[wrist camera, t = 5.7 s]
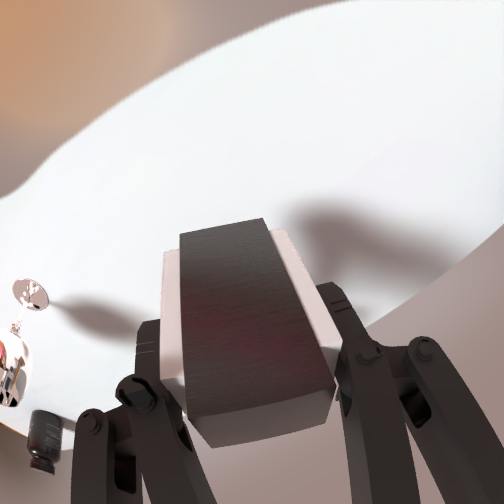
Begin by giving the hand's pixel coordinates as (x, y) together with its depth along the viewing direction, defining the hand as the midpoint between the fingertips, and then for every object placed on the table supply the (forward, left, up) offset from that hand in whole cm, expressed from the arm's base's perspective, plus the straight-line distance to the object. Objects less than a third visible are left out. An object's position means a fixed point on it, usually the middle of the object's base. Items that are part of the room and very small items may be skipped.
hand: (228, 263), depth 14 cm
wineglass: (+21, +7, -10) cm, 24 cm away
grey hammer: (0, +6, -1) cm, 6 cm away
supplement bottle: (+40, +36, -10) cm, 55 cm away
